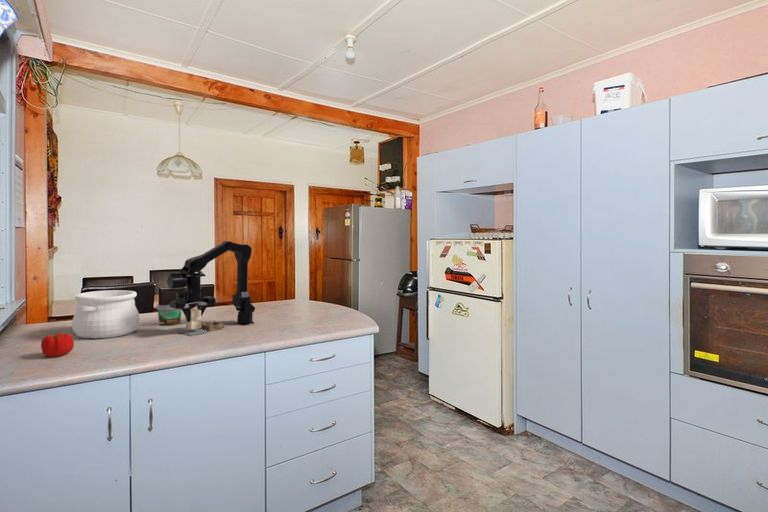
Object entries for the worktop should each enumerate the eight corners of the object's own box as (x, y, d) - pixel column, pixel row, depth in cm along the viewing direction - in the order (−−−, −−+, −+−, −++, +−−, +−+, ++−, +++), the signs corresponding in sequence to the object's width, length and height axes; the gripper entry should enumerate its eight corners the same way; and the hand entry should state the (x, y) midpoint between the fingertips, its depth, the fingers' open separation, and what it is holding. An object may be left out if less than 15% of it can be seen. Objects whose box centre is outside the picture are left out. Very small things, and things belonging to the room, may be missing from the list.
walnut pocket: (214, 326, 194) (214, 321, 194) (224, 328, 189) (224, 323, 189) (199, 329, 187) (199, 323, 187) (208, 331, 183) (208, 326, 183)
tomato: (79, 351, 150) (78, 331, 149) (60, 359, 141) (60, 338, 140) (53, 351, 149) (53, 331, 149) (33, 358, 140) (32, 337, 140)
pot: (104, 343, 161) (104, 299, 160) (55, 338, 166) (54, 296, 165) (153, 328, 187) (153, 291, 186) (109, 324, 192) (109, 288, 191)
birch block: (195, 326, 184) (195, 308, 184) (201, 327, 182) (201, 310, 181) (186, 327, 180) (186, 310, 180) (191, 329, 178) (191, 311, 177)
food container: (162, 327, 188) (162, 306, 188) (156, 325, 192) (156, 304, 192) (188, 323, 198) (188, 303, 198) (182, 321, 202) (182, 301, 201)
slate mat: (195, 329, 187) (195, 327, 187) (208, 332, 182) (208, 331, 181) (178, 332, 181) (178, 331, 181) (191, 336, 175) (191, 334, 175)
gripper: (202, 283, 192) (202, 315, 193) (163, 287, 177) (163, 322, 178) (216, 285, 186) (216, 318, 187) (176, 289, 170) (176, 325, 171)
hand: (193, 321), depth 181 cm, fingers closed on birch block, 4 cm apart
